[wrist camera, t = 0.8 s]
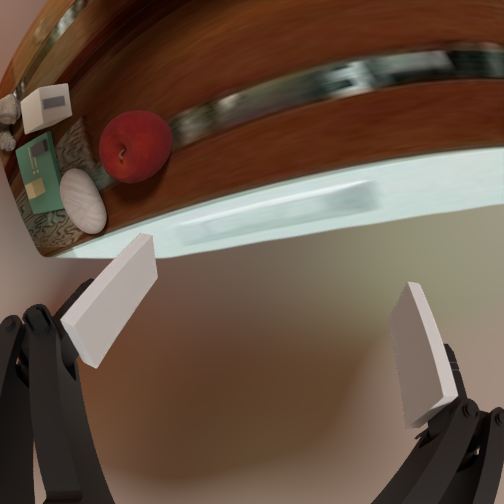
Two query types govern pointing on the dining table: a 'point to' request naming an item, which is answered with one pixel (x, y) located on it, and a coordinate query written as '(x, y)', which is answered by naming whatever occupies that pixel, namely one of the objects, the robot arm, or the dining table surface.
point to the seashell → (8, 120)
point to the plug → (45, 107)
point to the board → (40, 174)
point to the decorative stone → (82, 201)
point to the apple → (135, 146)
